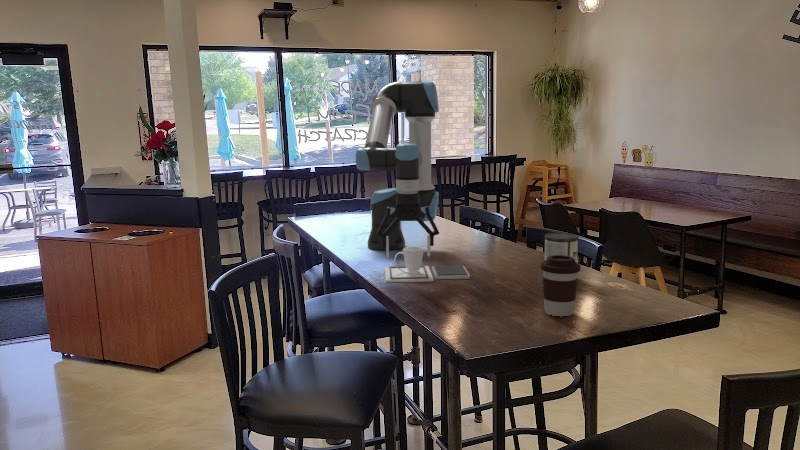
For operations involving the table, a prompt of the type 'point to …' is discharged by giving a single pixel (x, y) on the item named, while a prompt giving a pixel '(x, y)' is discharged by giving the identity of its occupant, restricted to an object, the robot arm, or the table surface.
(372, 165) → the robot arm
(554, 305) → the coffee cup
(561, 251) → the coffee can
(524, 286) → the table surface
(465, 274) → the ink pad
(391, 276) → the board
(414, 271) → the cup
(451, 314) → the table surface
